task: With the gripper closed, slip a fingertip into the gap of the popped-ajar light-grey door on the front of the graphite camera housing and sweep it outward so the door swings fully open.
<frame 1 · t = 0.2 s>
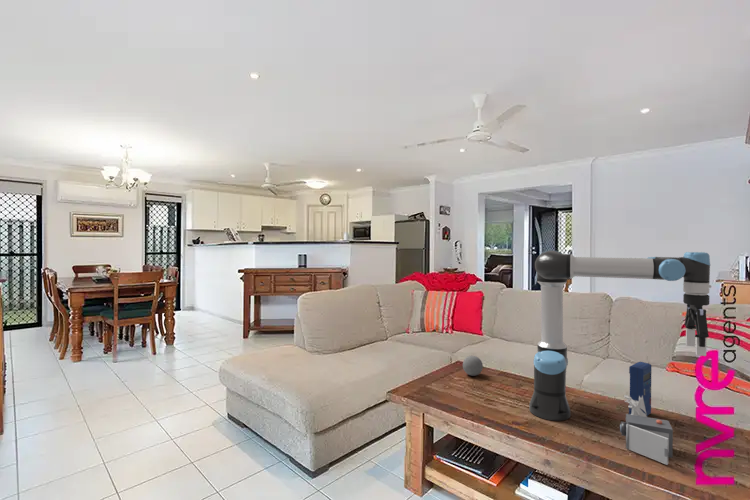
hand: (695, 350, 148), 28 cm above the table, fingers open, 13 cm apart
door: (646, 443, 126), point 5 cm above the table, hinge at 30.0°
decorative ball: (472, 375, 203), on the table
camera body: (648, 448, 132), on the table
electronic device: (640, 415, 156), on the table
figurine: (634, 425, 148), on the table
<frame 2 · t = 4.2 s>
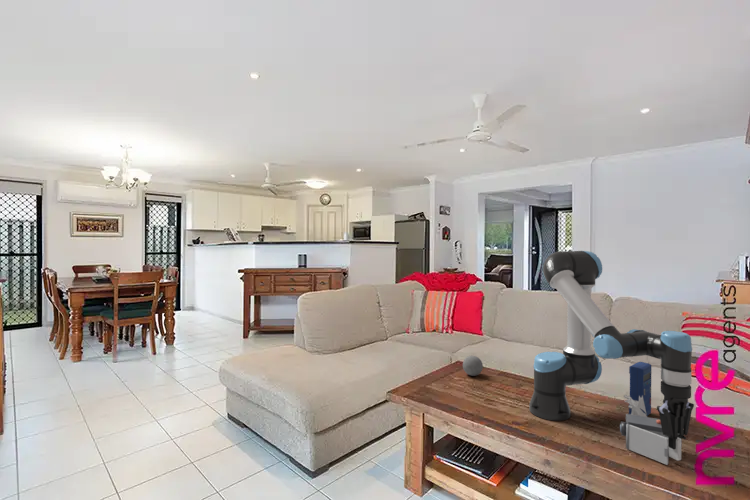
hand: (674, 457, 123), 2 cm above the table, fingers closed
door: (646, 443, 126), point 4 cm above the table, hinge at 30.0°, touching gripper
everything else where it was.
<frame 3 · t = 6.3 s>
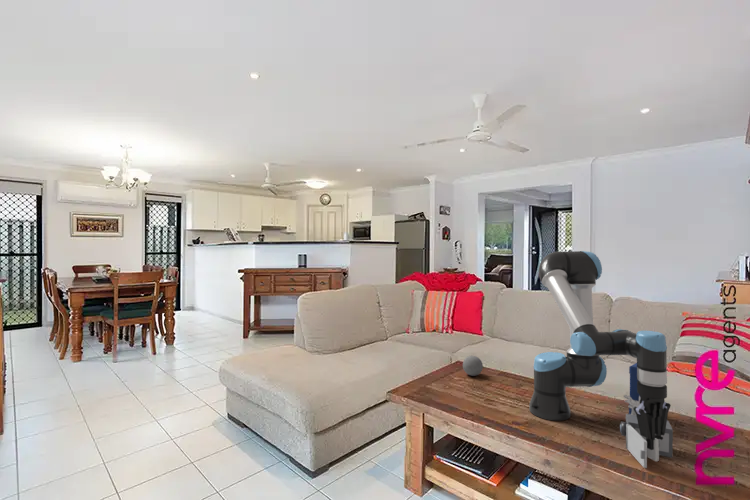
hand: (653, 458, 122), 2 cm above the table, fingers closed
door: (635, 444, 125), point 4 cm above the table, hinge at 72.4°, touching gripper
everything else where it was.
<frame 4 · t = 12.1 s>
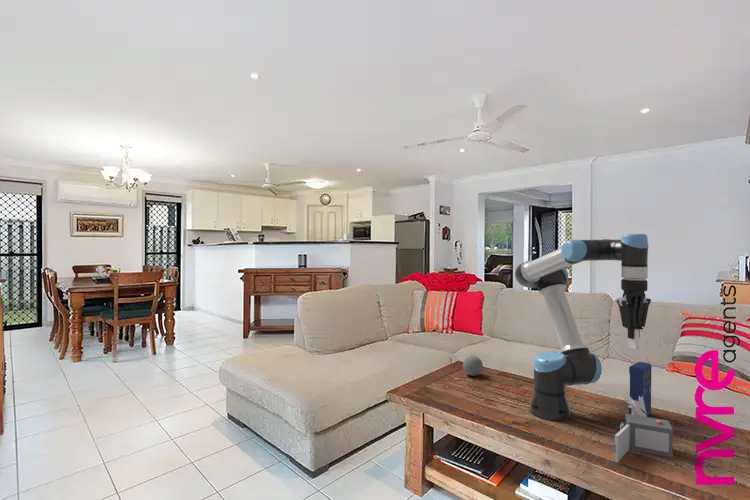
hand: (633, 347, 135), 32 cm above the table, fingers closed
door: (621, 441, 127), point 4 cm above the table, hinge at 111.8°
everything else where it was.
at the end: door at +112° (first picture: +30°) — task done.
